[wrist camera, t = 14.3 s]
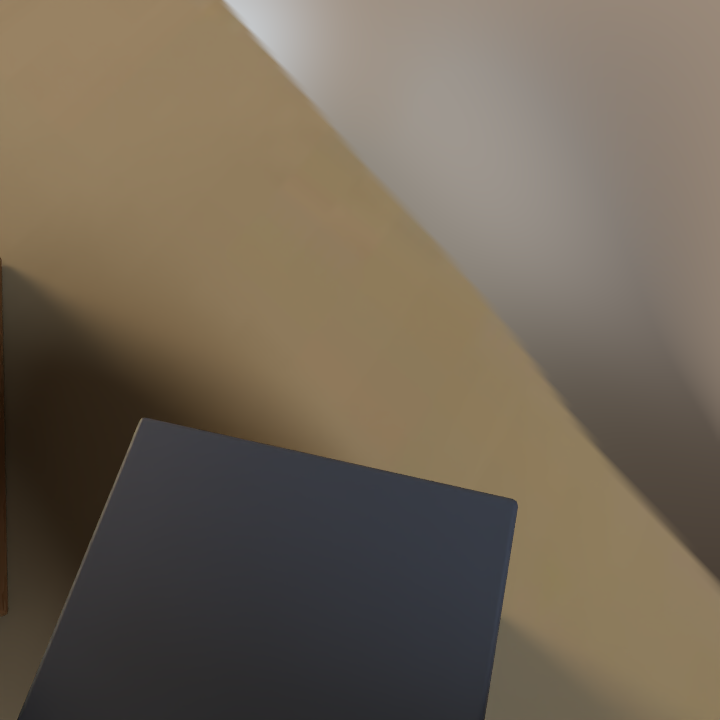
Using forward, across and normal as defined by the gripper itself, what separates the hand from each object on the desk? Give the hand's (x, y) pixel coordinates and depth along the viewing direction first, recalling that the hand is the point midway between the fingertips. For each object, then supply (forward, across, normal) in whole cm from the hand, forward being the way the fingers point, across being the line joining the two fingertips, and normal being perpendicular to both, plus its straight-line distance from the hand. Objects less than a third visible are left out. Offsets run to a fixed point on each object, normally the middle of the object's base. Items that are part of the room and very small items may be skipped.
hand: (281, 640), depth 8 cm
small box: (+5, 0, +5) cm, 7 cm away
